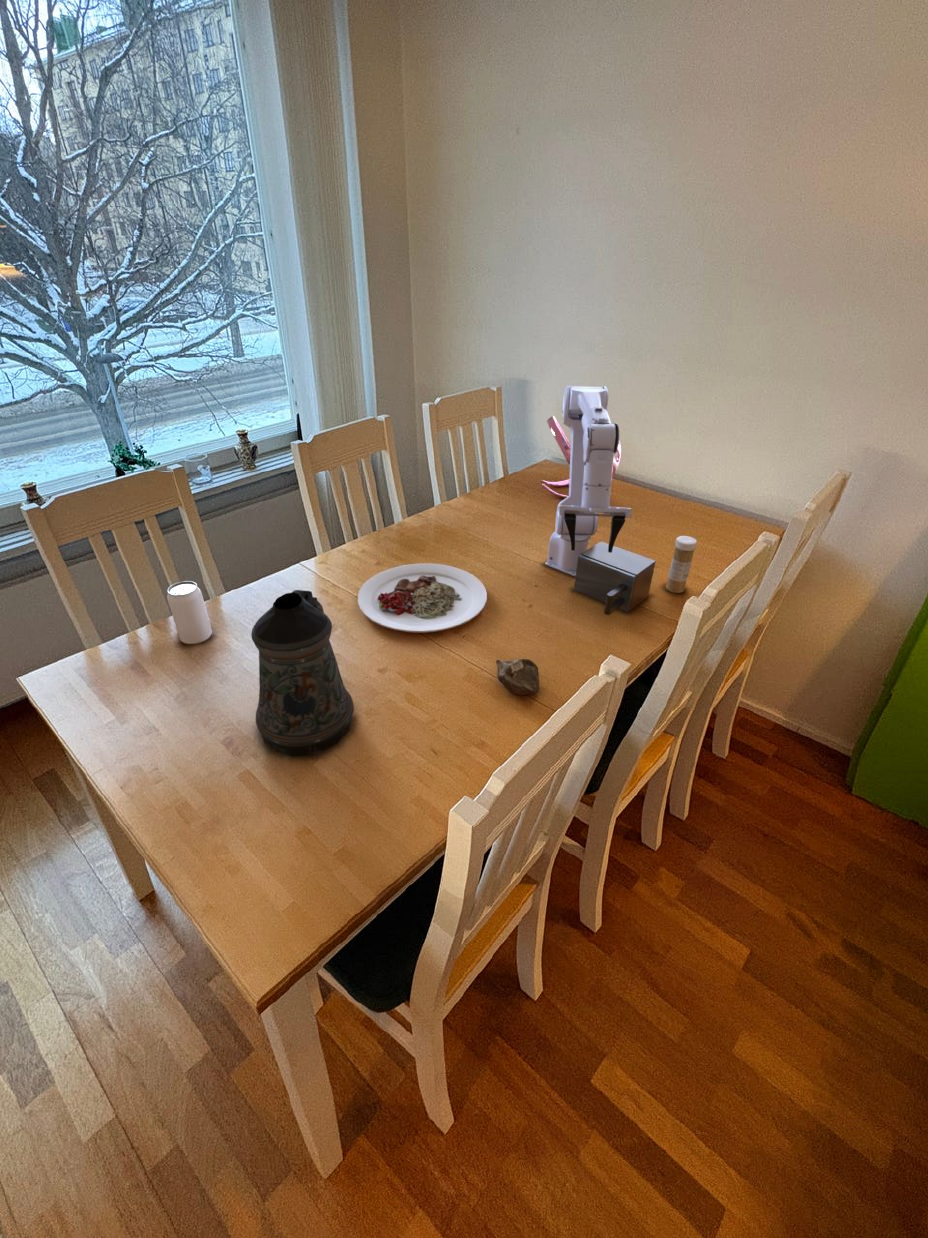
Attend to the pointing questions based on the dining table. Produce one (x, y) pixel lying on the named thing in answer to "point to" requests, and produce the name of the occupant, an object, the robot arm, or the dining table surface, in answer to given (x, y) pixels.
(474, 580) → the plated food
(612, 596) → the cupboard door
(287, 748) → the beer stein
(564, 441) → the spiral basket
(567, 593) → the dining table surface
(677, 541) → the sprinkles bottle
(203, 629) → the can
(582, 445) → the robot arm
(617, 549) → the cupboard
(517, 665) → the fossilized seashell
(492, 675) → the dining table surface
